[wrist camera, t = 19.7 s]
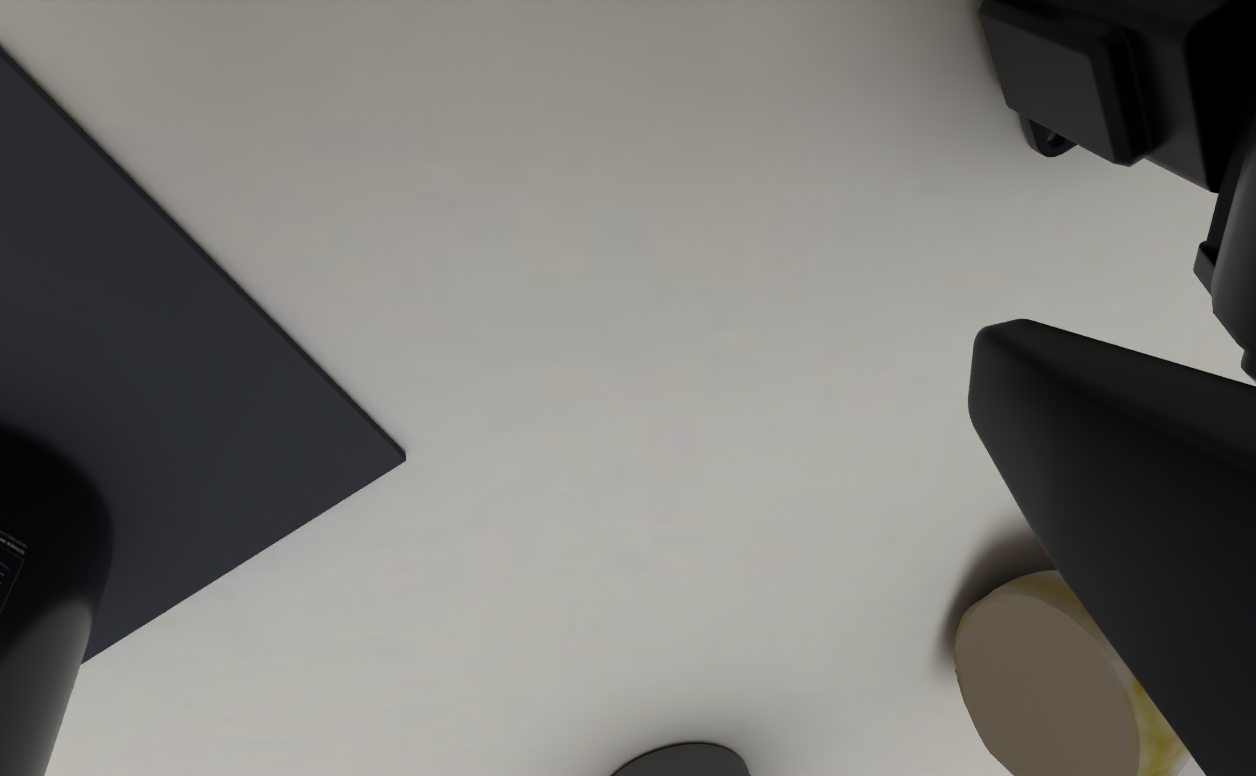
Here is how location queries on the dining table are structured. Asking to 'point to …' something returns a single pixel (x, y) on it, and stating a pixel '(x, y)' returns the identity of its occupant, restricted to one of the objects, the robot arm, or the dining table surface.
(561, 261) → the dining table surface
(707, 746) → the bottle
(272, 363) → the mat
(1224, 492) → the robot arm
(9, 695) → the supplement bottle
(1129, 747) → the mug
